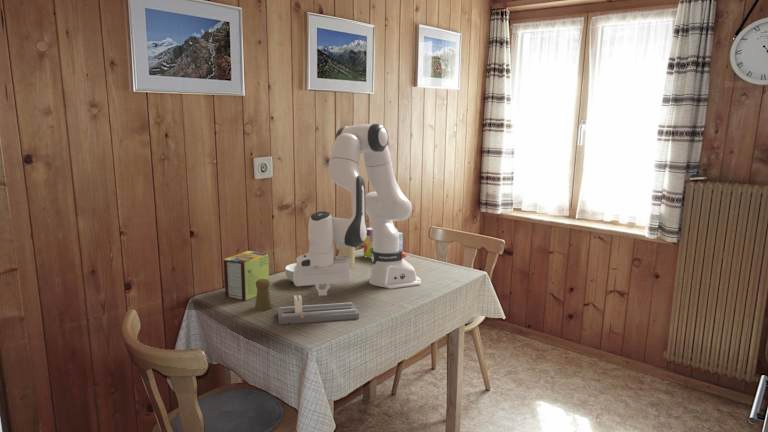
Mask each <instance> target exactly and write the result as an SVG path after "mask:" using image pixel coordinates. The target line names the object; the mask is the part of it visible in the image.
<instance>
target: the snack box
mask: <svg viewBox="0 0 768 432" xmlns="http://www.w3.org/2000/svg"><path fill="white" fill-rule="evenodd" d="M398 232H399V231H398ZM403 237H404V233H403V232H399V250H400V251H402V252H403V246H404V245H403V244H404V243H403V241H404V238H403ZM372 250H373V230H372V226H371V227H370V226H369V227H367V237H366V240H365V241H364V242H363V257H364V256H367V257H372Z"/></svg>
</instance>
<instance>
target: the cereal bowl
mask: <svg viewBox="0 0 768 432" xmlns="http://www.w3.org/2000/svg"><path fill="white" fill-rule="evenodd" d="M296 265H297V262H295V263H291V264H288V265H286V266H285V268H284V269H285V271H284V272H285V276H286V277H287V279H288V280H289V281H291V282H292V283H294V268H295V266H296Z"/></svg>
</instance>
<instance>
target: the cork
mask: <svg viewBox="0 0 768 432" xmlns="http://www.w3.org/2000/svg"><path fill="white" fill-rule="evenodd" d="M270 286H271V282H270V279H269V280H268V279H259V280H257V281H256V288H257V296H255V307H254V309H255V310H257V311H260V312H261V311H262V312H264V311H270V310H271V309H273V308H272V301H271V295H270Z"/></svg>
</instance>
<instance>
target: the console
mask: <svg viewBox="0 0 768 432" xmlns="http://www.w3.org/2000/svg"><path fill="white" fill-rule="evenodd" d="M301 315H303V318H301ZM277 318H278V325H289V324H288V323H291V324H292V325H293V324H303V323H304V324H305V323H306V324H307V323H317V322H330V321H331V322H333V321H345V320H347V321H348V320H359V319H360V312H359V311H358V309H357V306H356V305H355V303H354V302H352V301H351V302H337V303H325V304H324V303H323V304H310V305H309V304H308V305H302V313H295V309H294V305H293V306H290V305H289V306H280V307H277ZM291 324H290V325H291Z"/></svg>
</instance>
